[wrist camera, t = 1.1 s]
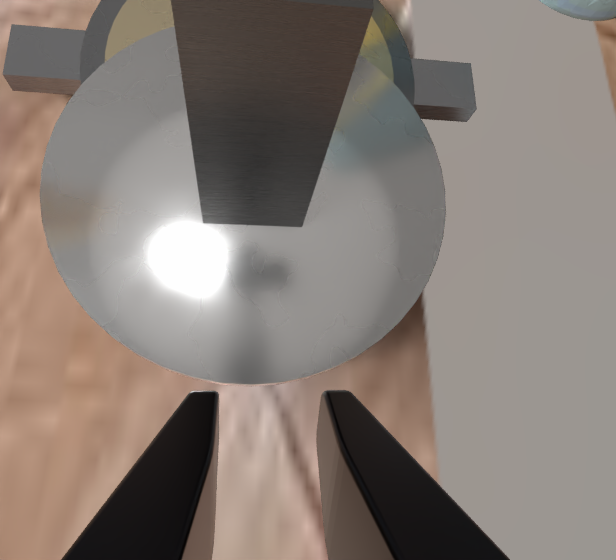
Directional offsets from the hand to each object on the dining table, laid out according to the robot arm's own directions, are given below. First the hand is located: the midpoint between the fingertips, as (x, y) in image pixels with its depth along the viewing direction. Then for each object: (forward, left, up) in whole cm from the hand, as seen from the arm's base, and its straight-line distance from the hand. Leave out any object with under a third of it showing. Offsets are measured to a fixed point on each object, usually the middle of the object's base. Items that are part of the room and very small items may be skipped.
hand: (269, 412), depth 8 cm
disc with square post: (+8, -4, -10) cm, 13 cm away
